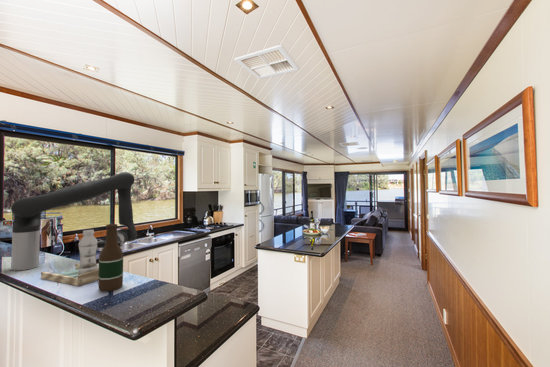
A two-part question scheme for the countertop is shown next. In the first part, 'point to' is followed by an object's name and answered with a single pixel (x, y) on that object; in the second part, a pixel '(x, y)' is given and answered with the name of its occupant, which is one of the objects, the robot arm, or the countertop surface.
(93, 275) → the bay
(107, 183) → the robot arm
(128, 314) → the countertop surface
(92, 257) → the plastic bottle
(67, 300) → the countertop surface
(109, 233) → the beer bottle
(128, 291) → the countertop surface
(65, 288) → the countertop surface
